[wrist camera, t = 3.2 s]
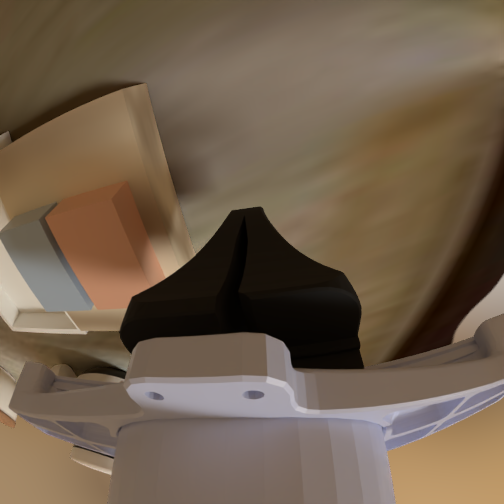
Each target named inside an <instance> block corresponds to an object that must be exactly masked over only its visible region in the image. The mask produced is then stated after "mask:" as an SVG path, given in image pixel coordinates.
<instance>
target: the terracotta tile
mask: <svg viewBox="0 0 504 504" xmlns="http://www.w3.org/2000/svg"><path fill="white" fill-rule="evenodd" d="M45 219H46V221H47V223H48V225H49V227H50V229H51V231H52V233H53V235H54V237H55V239H56V241H57V243H58V245H59V247H60V249H61V250H62V252H63V254H64V256H65V258H66V259H67V261H68V263H69V265H70V266H71V268H72V270H73V272H74V273H75V275H76V277H77V278H78V280H79V282H80V283H81V285H82V286H83V288H84V290H85V291H86V293H87V294H88V296H89V297H90V299H91V301H92V302H93V304H94V305H95V307H96V308H97V310H105V309H122V308H127V307H128V305H129V302H130V300H131V298H132V296H134V295H137V294H139V293H140V292H142V291H144V290H146V289H148V288H150V287H152V286H154V285H156V284H157V283H159V282H161V281H162V280H164V279H165V278H166V277H165V275H164V273H163V270H162V268H161V266H160V264H159V261H158V259H157V257H156V254H155V252H154V249H153V247H152V245H151V242H150V240H149V237H148V235H147V232H146V230H145V227H144V225H143V222H142V219H141V217H140V214H139V212H138V209H137V206H136V204H135V201H134V198H133V195H132V193H131V190H130V187H129V184H128V181H123V182H120V183H116V184H112V185H109V186H105V187H102V188H98V189H95V190H91V191H88V192H85V193H81V194H78V195H75V196H72V197H69V198H66V199H63V200H62V201H61V202H60V203H59V204H58V205H57V206H56V207H55V208H54V209H53V210H52V211H51V212H50V213H49V214H48V215H47V216H46V217H45Z"/></svg>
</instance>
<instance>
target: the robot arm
mask: <svg viewBox="0 0 504 504" xmlns="http://www.w3.org/2000/svg"><path fill="white" fill-rule="evenodd" d="M360 320H361V304H360V301H359V299H358V296H357V294H356V292H355V290H354V289H353V287H352V285H351V283H350V282H349V280H348V279H347V277H346V276H345V274H344V273H343V272H341V271H338V270H335V269H332V268H330V267H327V266H324V265H322V264H320V263H318V262H316V261H314V260H312V259H310V258H308V257H307V256H305V255H304V254H302V253H300V252H299V251H298V250H296V249H295V248H294V247H293V246H292V245H290V244H289V243H288V242H287V241H286V240H285V239H284V238H283V237H282V236H281V235H280V234H279V233H278V232H277V230H276V229H275V228H274V227H273V225H272V224H271V223H270V221H269V220H268V218H267V217H266V215H265V213H264V210H263V208H262V207H253V208H246V209H239V210H232V211H231V212H230V214H229V215H228V216H227V218H226V219H225V221H224V222H223V224H222V225H221V226H220V228H219V229H218V230H217V232H216V233H215V234H214V236H213V237H212V238H211V239H210V240H209V242H208V243H207V244H206V245H205V246H204V247H203V248H202V249H201V250H200V251H199V252H198V253H197V254H196V255H195V256H194V257H193V258H192V259H191V260H190V261H188V262H187V263H186V264H185V265H183V266H182V267H181V268H179V269H178V270H177V271H176V272H174V273H173V274H171V275H170V276H168V277H167V278H165V279H164V280H162V281H161V282H159V283H157V284H156V285H154V286H152V287H150V288H148V289H146V290H144V291H142V292H140V293H139V294H137V295H134V296H132V298H131V300H130V302H129V305H128V307H127V310H126V313H125V315H124V318H123V321H122V324H121V327H120V331H119V333H120V338H121V340H122V342H123V344H124V345H125V347H126V348H127V349H128V351H129V352H130V353H131V354H132V355H131V358H130V362H129V365H128V369H127V373H126V376H125V380H124V382H121V383H114V382H104V381H94V380H85V379H78V378H70V377H64V376H57V375H55V373H54V372H53V371H52V370H51V369H50V368H49V367H47V366H46V365H44V364H42V363H37V362H31V361H26V363H25V365H24V368H23V370H22V372H21V375H20V377H19V379H18V382H17V384H16V387H15V390H14V392H13V395H12V398H11V400H10V403H9V406H8V407H9V409H11V410H12V411H13V412H14V413H16V414H17V415H19V416H20V417H21V418H23V419H24V420H26V421H27V422H28V423H30V424H32V425H33V426H34V427H36V428H37V429H39V430H41V431H42V432H44V433H45V434H47V435H50V436H53V437H55V438H58V439H61V440H64V441H67V442H70V443H72V444H75V445H78V446H81V447H84V448H87V449H90V450H93V451H96V452H100V453H103V454H106V455H110V456H113V457H114V462H113V468H112V474H111V480H110V488H109V495H108V502H107V504H396V503H395V496H394V489H393V484H392V477H391V471H390V466H389V460H388V455H387V451H389V450H392V449H395V448H398V447H401V446H403V445H406V444H409V443H411V442H414V441H416V440H419V439H422V438H424V437H426V436H429V435H431V434H433V433H436V432H438V431H440V430H442V429H444V428H447V427H449V426H451V425H453V424H455V423H457V422H459V421H461V420H463V419H465V418H467V417H469V416H471V415H473V414H475V413H477V412H479V411H481V410H482V409H484V408H486V407H488V406H490V405H492V404H494V403H496V402H497V401H499V400H500V399H502V398H503V397H504V314H501V315H499V316H496V317H493V318H491V319H488V320H486V321H484V322H483V323H482V324H481V325H480V326H479V327H478V329H477V330H476V332H475V335H474V337H472V338H468V339H466V340H463V341H460V342H457V343H454V344H451V345H448V346H445V347H441V348H438V349H435V350H432V351H428V352H425V353H421V354H418V355H414V356H410V357H406V358H402V359H399V360H394V361H390V362H386V363H382V364H377V365H373V366H368V367H364V365H363V361H362V358H361V354H360V350H359V349H360V341H359V338H358V330H359V325H360Z"/></svg>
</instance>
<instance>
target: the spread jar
mask: <svg viewBox="0 0 504 504" xmlns="http://www.w3.org/2000/svg"><path fill="white" fill-rule="evenodd" d="M51 370H52V371H53V372H54V373H55V375H57V376H64V377H70V378H78V379H85V380H94V381H104V382H114V383H121V382H124V380H125V376H126V372H124V371H121V370H118V369H114V368H110V367H98V368H93V369H90V370H87V371H85V372H83V373H82V374H80V375H79V376H78V377H76V375H75V373H74V371H73V370H72V369H71V367H69V366H68V365H66V364H61V365H55V366H53V367H52V368H51ZM70 458H71V459H72V460H74V461H76V462H78V463H80V464H82V465H84V466H87V467H89V468H92V469H95V470H98V471H101V472H104V473H107V474H112V468H113V462H114V457H113V456H110V455H106V454H103V453H100V452H96V451H93V450H90V449H87V448H84V447H81V446H78V445H75V444H74V446H73V447H72V450H71V455H70Z"/></svg>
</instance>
